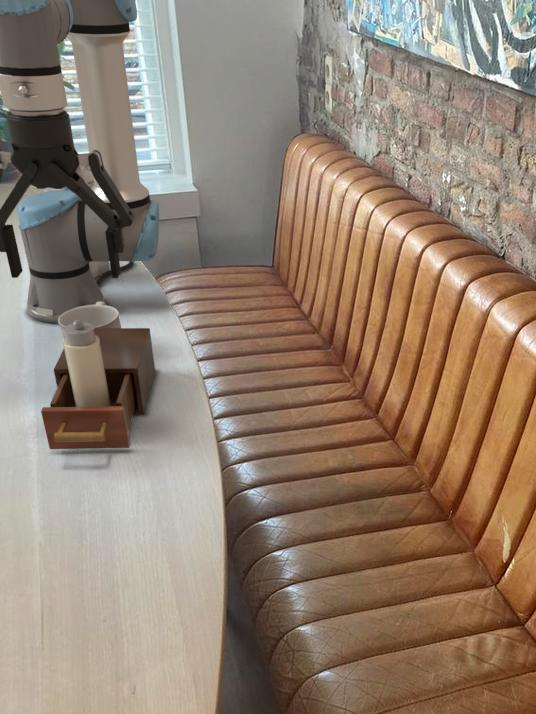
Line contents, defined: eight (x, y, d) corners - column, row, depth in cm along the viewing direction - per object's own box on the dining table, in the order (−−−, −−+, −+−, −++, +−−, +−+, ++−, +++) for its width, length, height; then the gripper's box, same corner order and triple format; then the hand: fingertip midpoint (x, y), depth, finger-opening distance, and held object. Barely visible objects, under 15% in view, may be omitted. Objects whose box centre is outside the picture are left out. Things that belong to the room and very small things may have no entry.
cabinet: (144, 414, 129) (137, 368, 124) (63, 415, 128) (53, 369, 123) (155, 371, 142) (149, 327, 137) (81, 371, 141) (73, 328, 136)
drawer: (125, 463, 116) (118, 425, 112) (42, 465, 115) (33, 426, 111) (141, 401, 131) (136, 365, 127) (69, 402, 130) (62, 366, 126)
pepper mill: (82, 412, 125) (63, 313, 115) (115, 412, 126) (98, 313, 116) (76, 429, 121) (55, 327, 111) (110, 429, 122) (92, 327, 112)
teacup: (108, 370, 141) (102, 330, 137) (54, 363, 143) (45, 322, 138) (141, 339, 153) (136, 300, 148) (90, 332, 154) (83, 294, 149)
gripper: (-79, 113, 93) (-34, 283, 105) (133, 118, 95) (153, 284, 107) (-57, 102, 99) (-17, 264, 111) (142, 107, 101) (160, 266, 113)
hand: (67, 274), depth 109 cm, fingers open, 13 cm apart
